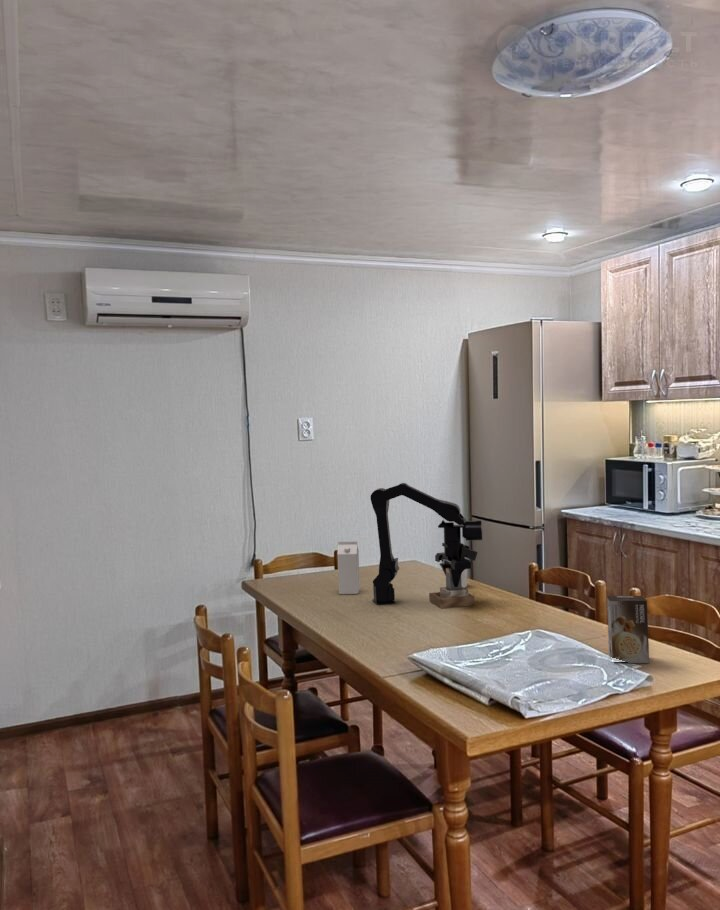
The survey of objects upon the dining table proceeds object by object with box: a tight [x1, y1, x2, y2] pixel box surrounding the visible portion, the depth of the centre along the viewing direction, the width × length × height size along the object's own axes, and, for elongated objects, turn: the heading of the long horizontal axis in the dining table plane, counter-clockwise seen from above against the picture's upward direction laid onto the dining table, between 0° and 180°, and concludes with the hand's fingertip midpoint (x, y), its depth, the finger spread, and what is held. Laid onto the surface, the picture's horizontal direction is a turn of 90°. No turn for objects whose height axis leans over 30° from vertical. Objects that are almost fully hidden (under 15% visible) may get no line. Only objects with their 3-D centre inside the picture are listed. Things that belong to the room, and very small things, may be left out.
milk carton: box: [337, 540, 361, 595], centre depth 284 cm, size 7×7×19 cm
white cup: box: [461, 569, 468, 589], centre depth 287 cm, size 8×8×10 cm
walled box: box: [428, 586, 475, 609], centre depth 262 cm, size 12×11×5 cm
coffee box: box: [606, 594, 650, 664], centre depth 195 cm, size 9×6×16 cm
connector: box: [445, 568, 462, 591], centre depth 262 cm, size 4×4×8 cm
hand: (453, 585), depth 262 cm, fingers closed on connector, 4 cm apart
